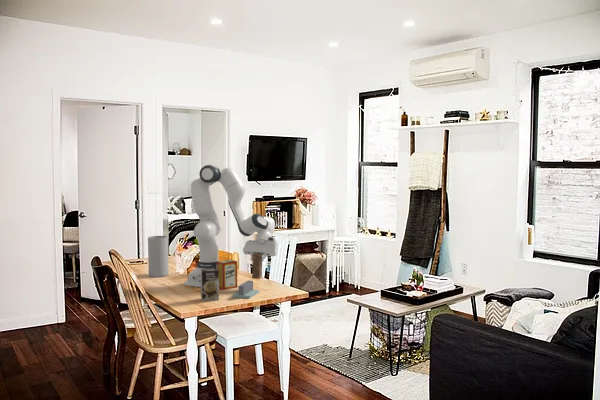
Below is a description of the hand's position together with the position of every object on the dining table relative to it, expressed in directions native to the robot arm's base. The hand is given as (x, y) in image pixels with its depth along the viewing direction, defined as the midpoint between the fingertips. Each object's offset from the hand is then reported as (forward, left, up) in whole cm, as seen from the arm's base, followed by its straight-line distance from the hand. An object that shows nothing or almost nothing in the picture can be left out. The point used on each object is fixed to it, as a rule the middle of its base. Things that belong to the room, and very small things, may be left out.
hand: (256, 260), depth 318 cm
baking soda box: (-18, -2, -17) cm, 25 cm away
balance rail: (-1, -15, -17) cm, 23 cm away
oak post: (0, +1, -10) cm, 10 cm away
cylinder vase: (-75, +17, -17) cm, 78 cm away
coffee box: (-16, -29, -17) cm, 37 cm away
